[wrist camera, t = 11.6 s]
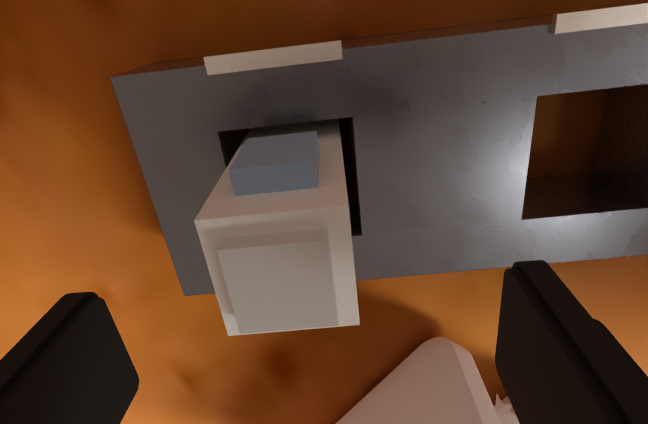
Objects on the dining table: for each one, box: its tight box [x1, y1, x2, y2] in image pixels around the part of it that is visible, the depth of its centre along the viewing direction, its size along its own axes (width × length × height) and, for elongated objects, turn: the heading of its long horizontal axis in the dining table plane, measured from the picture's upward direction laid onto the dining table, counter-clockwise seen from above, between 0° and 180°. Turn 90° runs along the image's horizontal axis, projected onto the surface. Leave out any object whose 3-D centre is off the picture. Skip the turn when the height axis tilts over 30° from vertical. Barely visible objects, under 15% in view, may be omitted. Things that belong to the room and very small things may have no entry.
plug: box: [194, 118, 360, 336], centre depth 15 cm, size 4×5×11 cm
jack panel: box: [110, 3, 648, 296], centre depth 18 cm, size 24×10×4 cm, turn 96°
